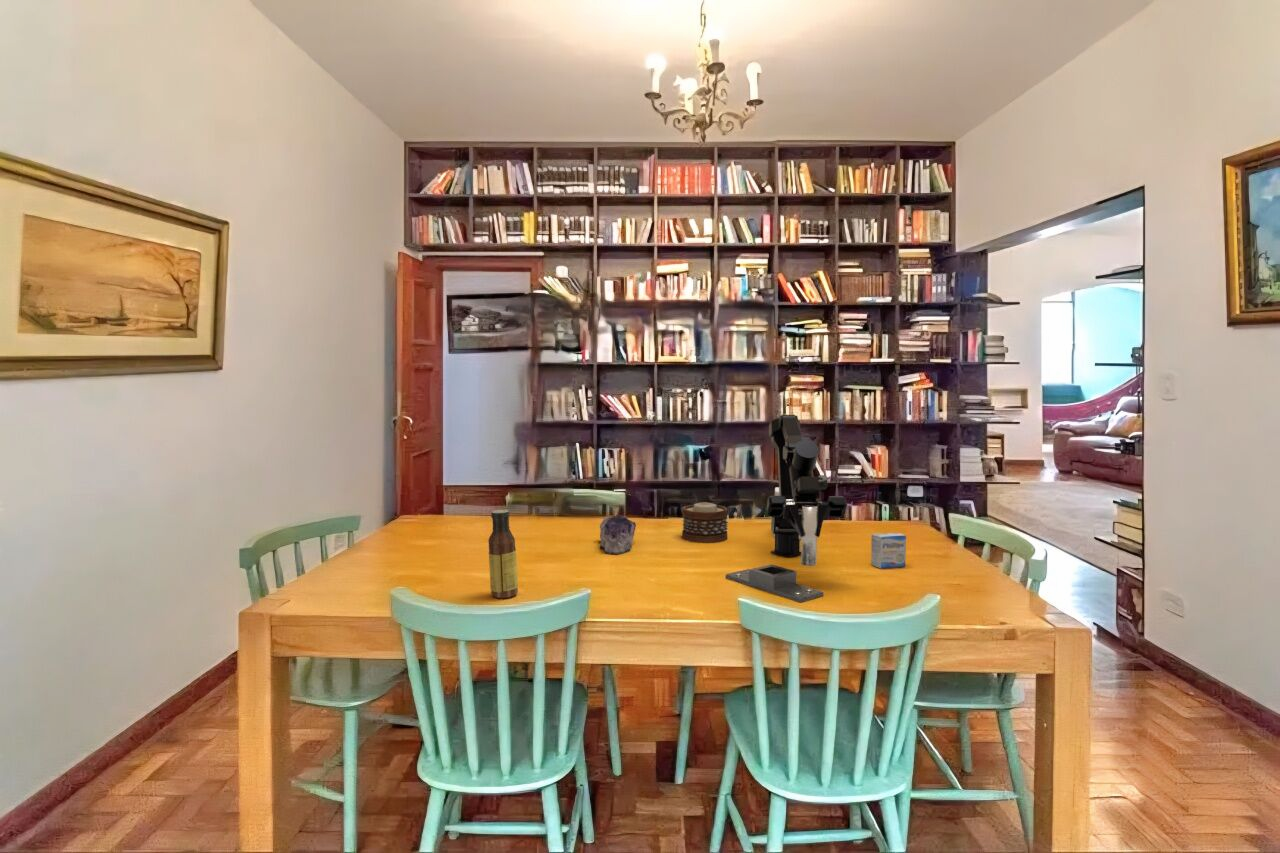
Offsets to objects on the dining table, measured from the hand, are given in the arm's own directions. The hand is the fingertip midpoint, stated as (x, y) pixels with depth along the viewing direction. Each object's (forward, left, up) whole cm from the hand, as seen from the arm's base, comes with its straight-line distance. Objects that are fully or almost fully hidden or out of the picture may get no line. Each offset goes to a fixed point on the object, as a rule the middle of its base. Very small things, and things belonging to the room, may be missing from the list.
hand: (810, 536), depth 167 cm
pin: (-1, +1, -7) cm, 7 cm away
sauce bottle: (-40, -60, -13) cm, 73 cm away
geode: (-62, -12, -13) cm, 65 cm away
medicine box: (-1, +34, -13) cm, 36 cm away
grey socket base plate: (-7, -5, -13) cm, 16 cm away
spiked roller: (-55, +17, -13) cm, 59 cm away
